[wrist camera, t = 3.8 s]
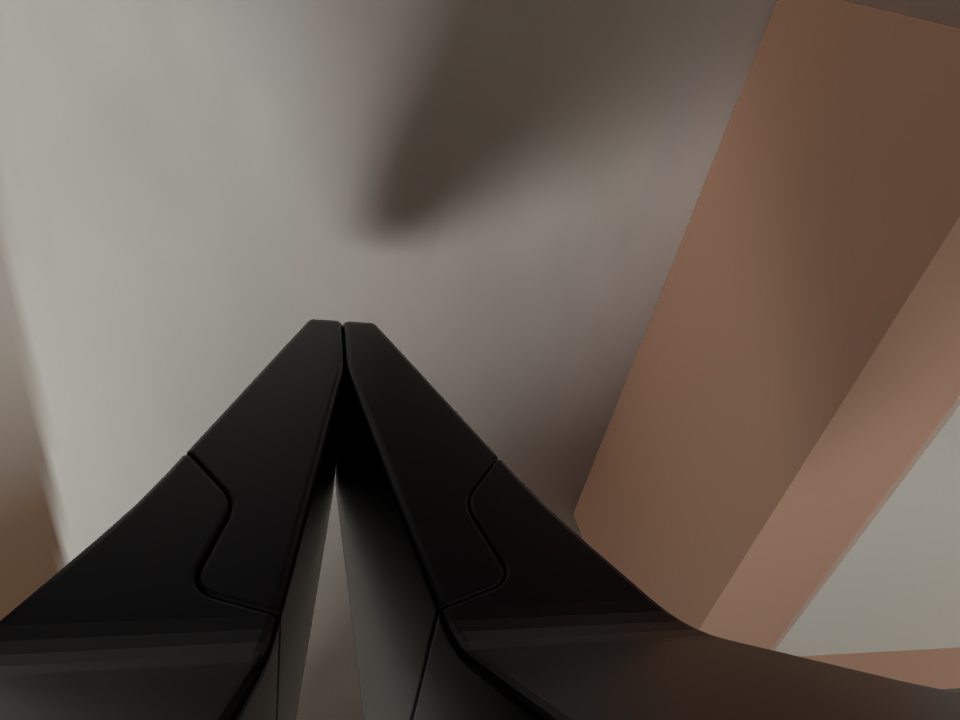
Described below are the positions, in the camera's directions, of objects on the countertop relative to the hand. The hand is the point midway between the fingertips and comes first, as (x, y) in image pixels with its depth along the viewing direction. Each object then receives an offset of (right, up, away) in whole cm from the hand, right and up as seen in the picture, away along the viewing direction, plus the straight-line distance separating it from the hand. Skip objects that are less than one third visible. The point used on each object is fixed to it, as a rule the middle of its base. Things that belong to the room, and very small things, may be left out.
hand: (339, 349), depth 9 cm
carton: (+9, +1, +4) cm, 9 cm away
